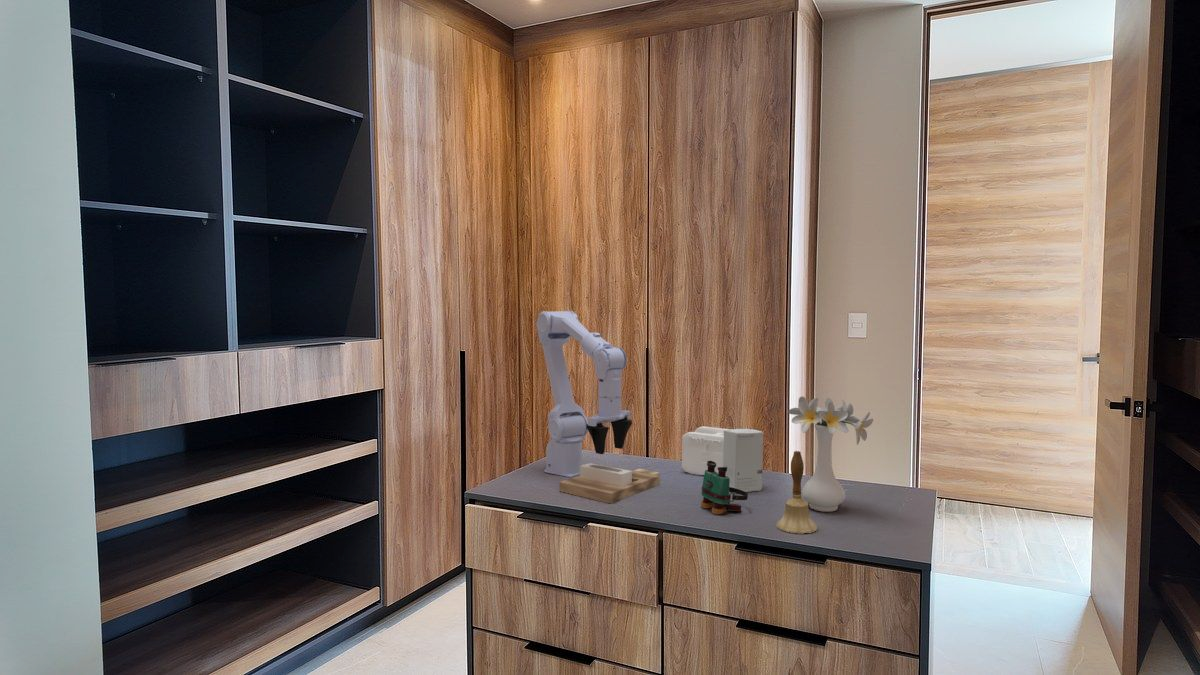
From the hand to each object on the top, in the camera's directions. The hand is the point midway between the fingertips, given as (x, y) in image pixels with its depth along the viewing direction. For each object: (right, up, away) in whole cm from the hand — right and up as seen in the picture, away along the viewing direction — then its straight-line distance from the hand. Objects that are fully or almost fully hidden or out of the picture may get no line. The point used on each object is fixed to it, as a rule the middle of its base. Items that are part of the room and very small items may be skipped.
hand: (609, 450), depth 175 cm
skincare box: (+33, -10, 0) cm, 34 cm away
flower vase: (+49, -11, -15) cm, 53 cm away
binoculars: (+26, -11, -16) cm, 32 cm away
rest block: (+10, -9, +9) cm, 16 cm away
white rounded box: (+28, -9, +15) cm, 33 cm away
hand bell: (+39, -12, -29) cm, 49 cm away
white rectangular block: (-1, -9, -2) cm, 9 cm away
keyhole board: (0, -9, 0) cm, 9 cm away
